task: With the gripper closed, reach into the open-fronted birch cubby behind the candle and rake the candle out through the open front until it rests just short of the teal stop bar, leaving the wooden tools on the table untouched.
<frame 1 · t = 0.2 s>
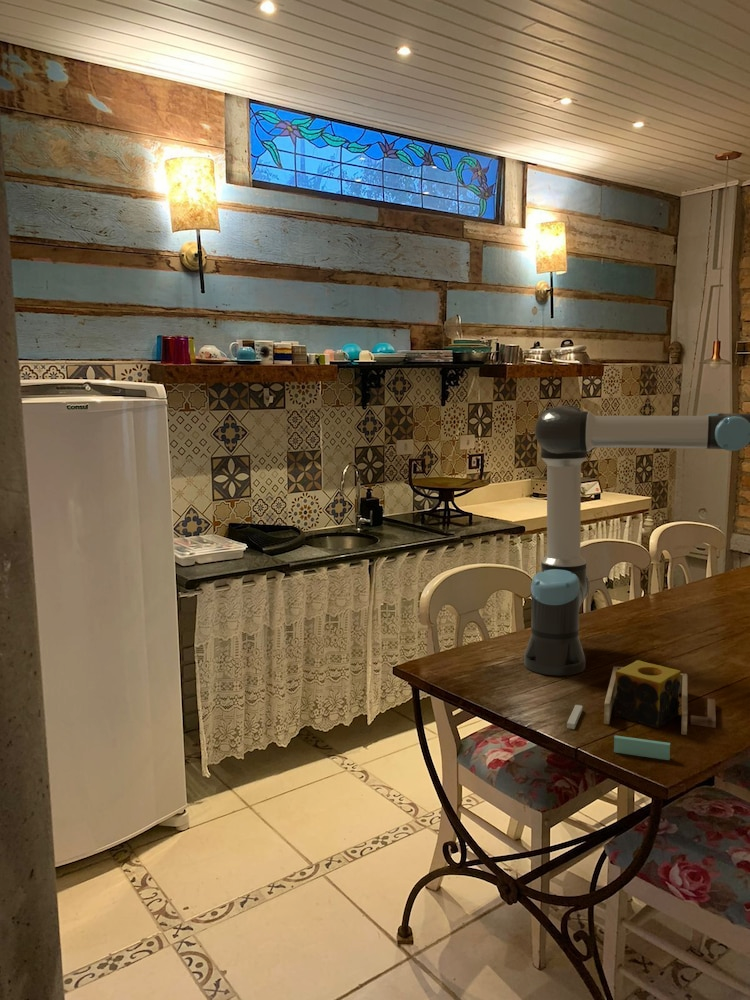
candle: (646, 716, 166), on the table
cubby: (647, 707, 170), on the table
crook tool: (711, 716, 165), on the table
stop bar: (641, 755, 148), on the table
grey stick: (574, 720, 165), on the table
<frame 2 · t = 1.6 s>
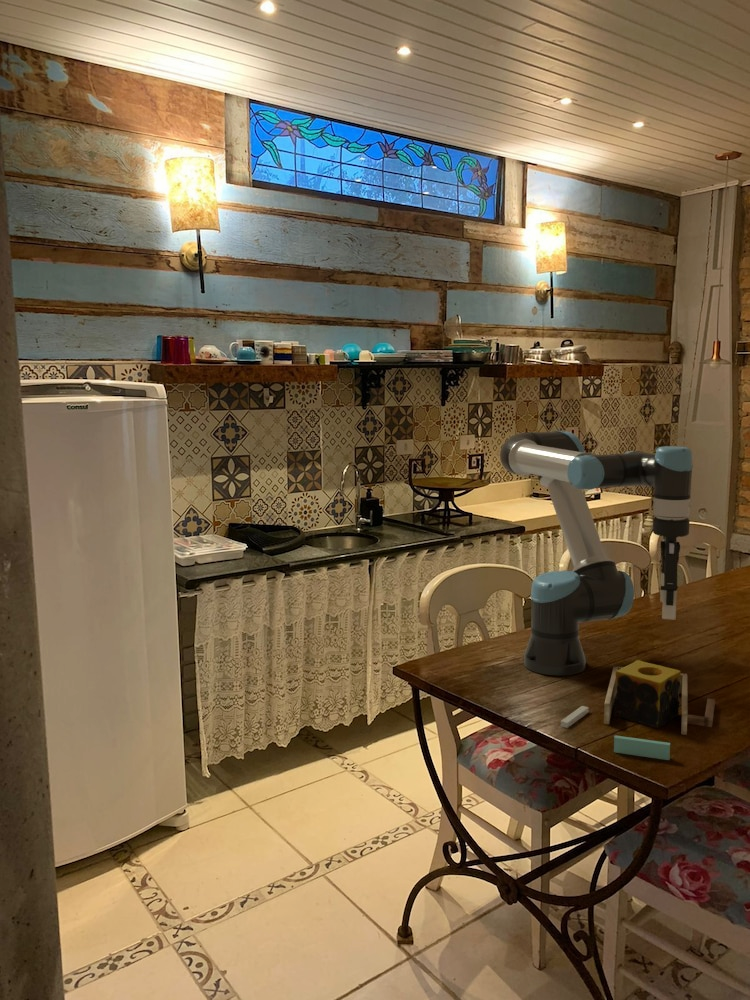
hand: (667, 610, 175), 19 cm above the table, fingers open, 13 cm apart
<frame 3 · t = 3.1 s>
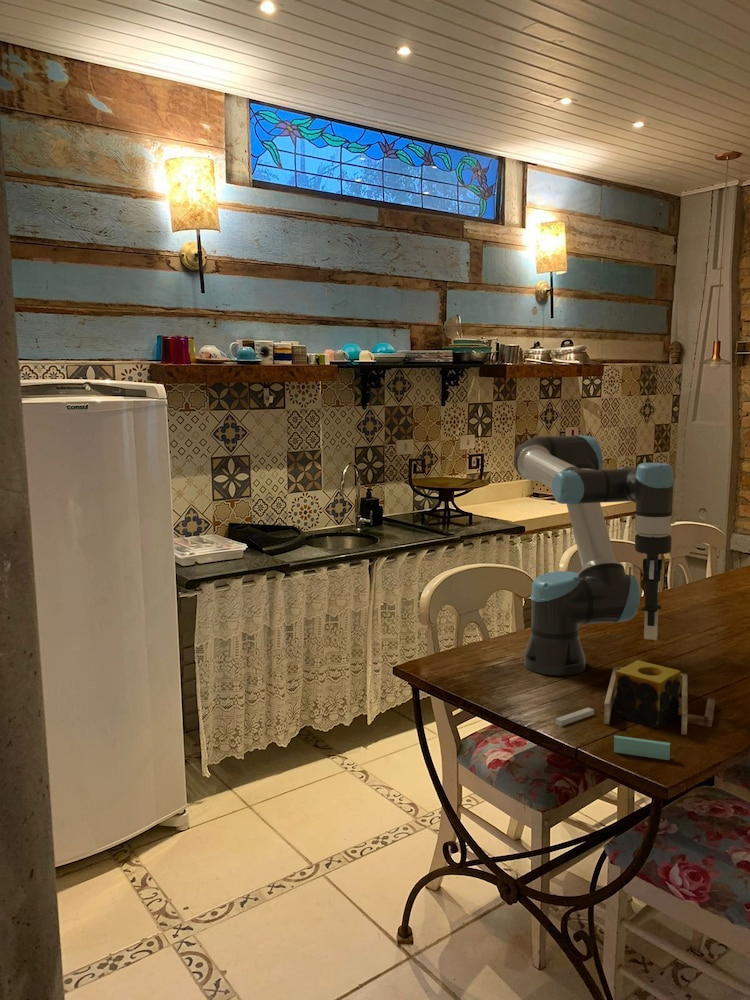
hand: (650, 638, 173), 14 cm above the table, fingers closed
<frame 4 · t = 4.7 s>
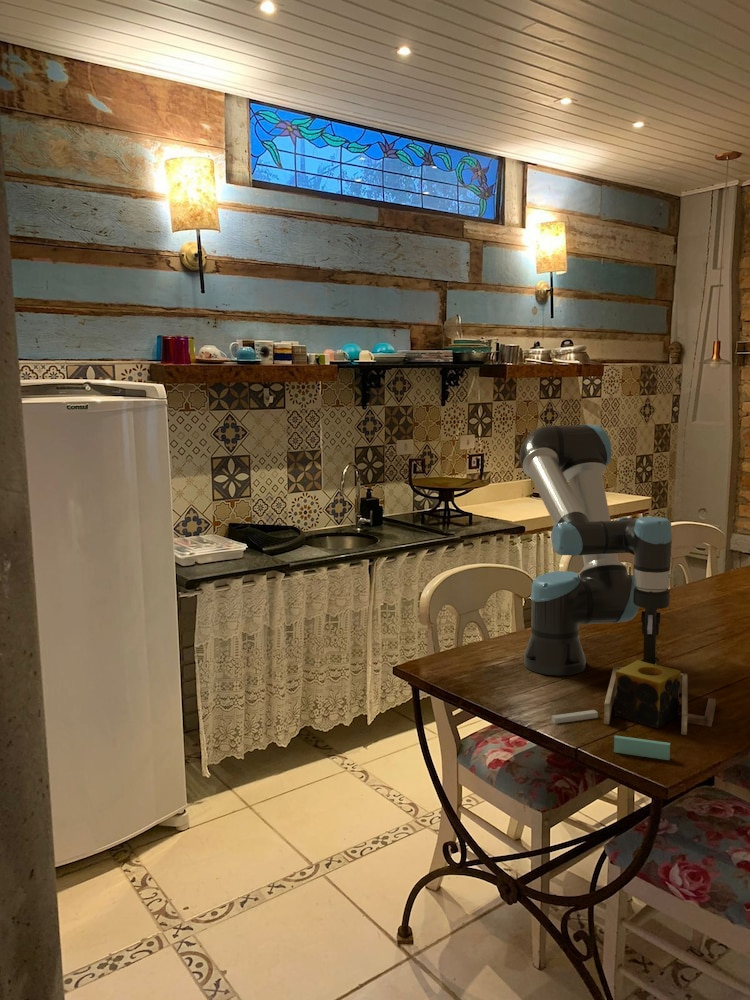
hand: (648, 690, 174), 2 cm above the table, fingers closed
candle: (646, 716, 166), on the table, touching hand
crook tool: (709, 715, 166), on the table, touching cubby
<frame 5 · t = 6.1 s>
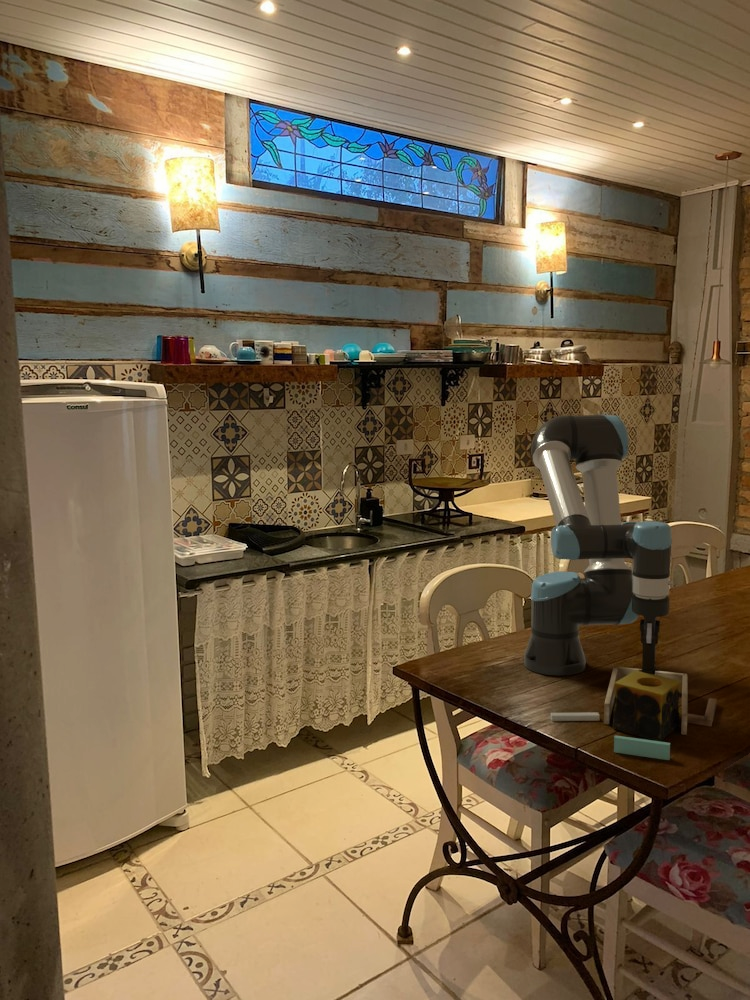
hand: (648, 701, 168), 2 cm above the table, fingers closed
candle: (645, 728, 160), on the table, touching hand
crook tool: (710, 715, 166), on the table
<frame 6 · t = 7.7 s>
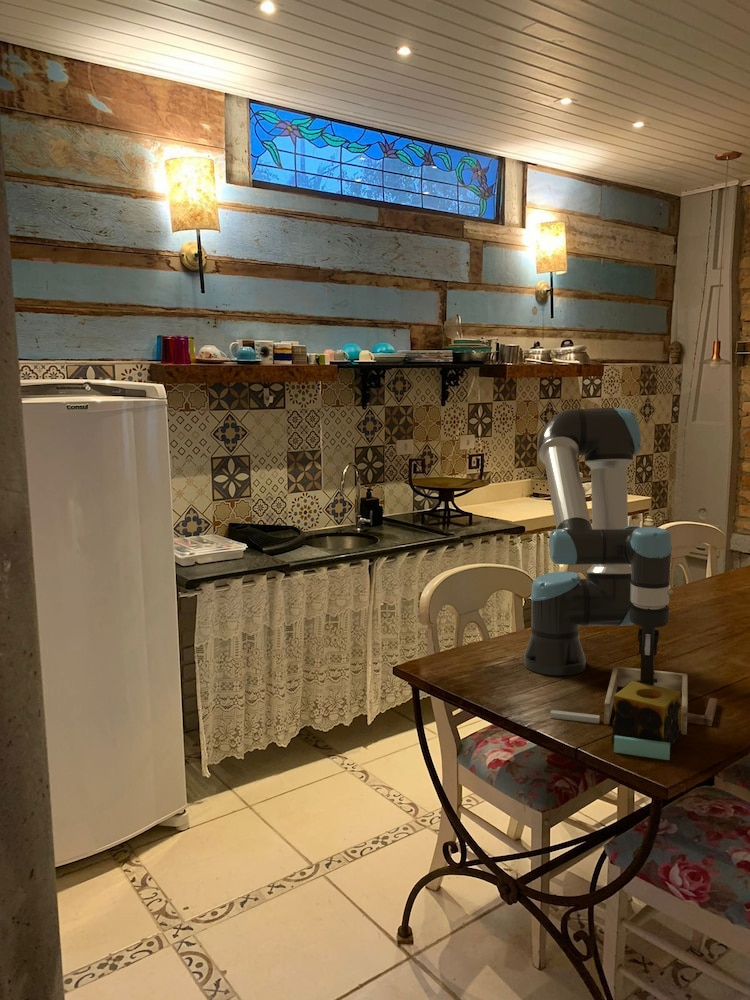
hand: (646, 713, 162), 2 cm above the table, fingers closed
candle: (645, 742, 154), on the table, touching gripper, hand, stop bar
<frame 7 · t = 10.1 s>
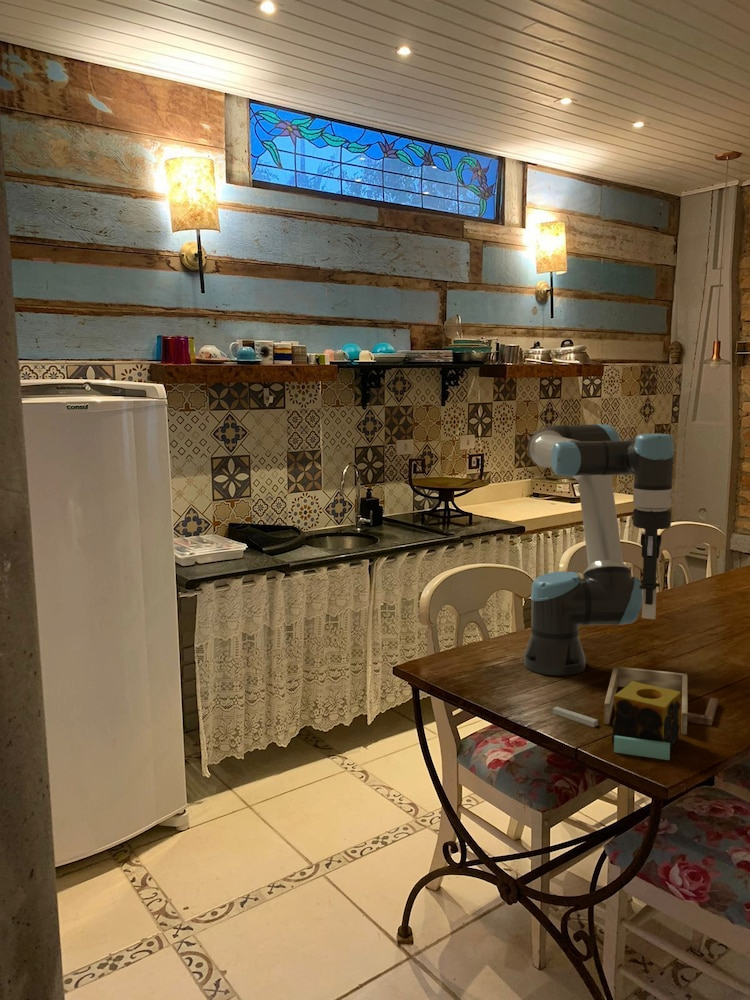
hand: (648, 617, 166), 21 cm above the table, fingers closed
candle: (645, 742, 154), on the table
crook tool: (710, 714, 166), on the table, touching cubby
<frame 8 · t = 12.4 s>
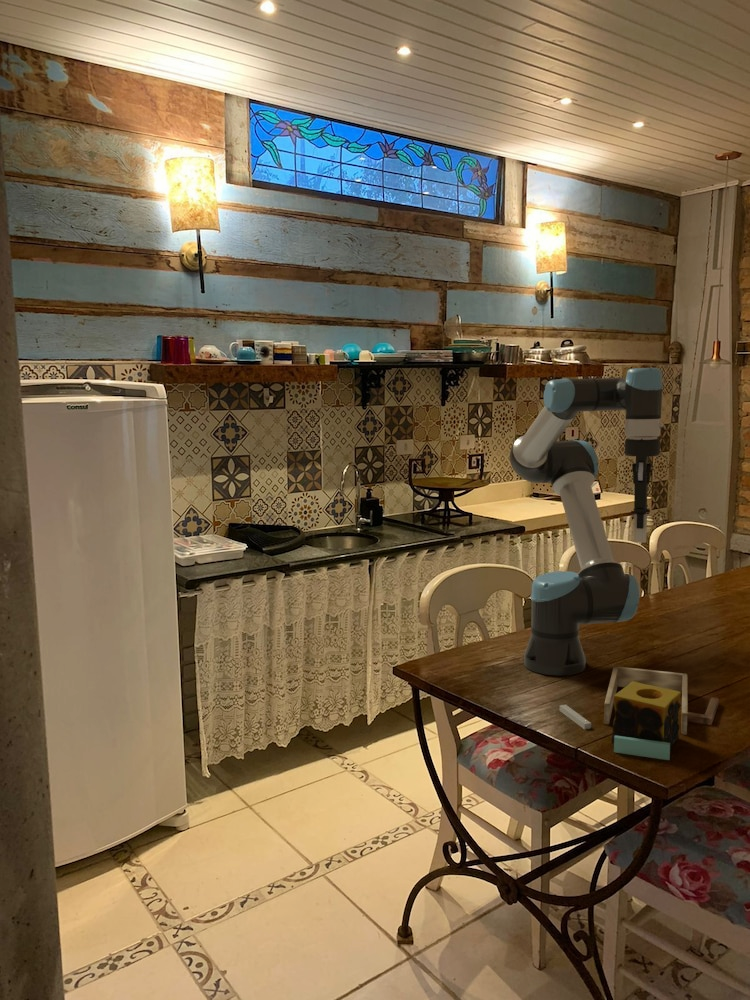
hand: (639, 541, 177), 34 cm above the table, fingers closed
crook tool: (711, 714, 166), on the table
at the end: candle inside the target area (0.9 cm from its centre), on the table; candle tilted 0°; candle moved 12.9 cm from its start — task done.
